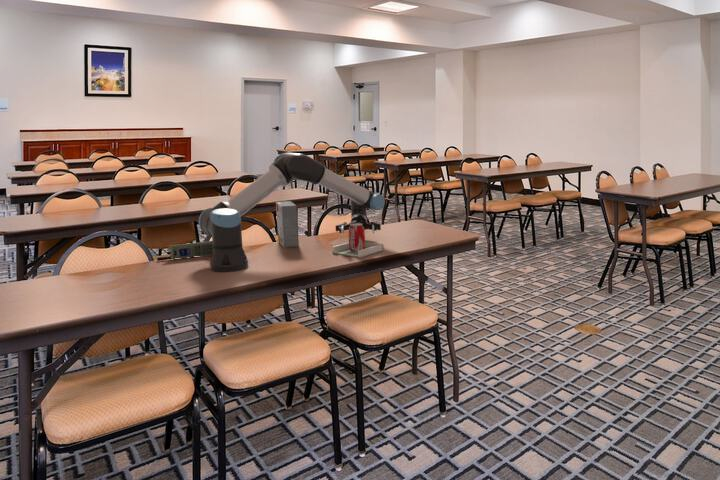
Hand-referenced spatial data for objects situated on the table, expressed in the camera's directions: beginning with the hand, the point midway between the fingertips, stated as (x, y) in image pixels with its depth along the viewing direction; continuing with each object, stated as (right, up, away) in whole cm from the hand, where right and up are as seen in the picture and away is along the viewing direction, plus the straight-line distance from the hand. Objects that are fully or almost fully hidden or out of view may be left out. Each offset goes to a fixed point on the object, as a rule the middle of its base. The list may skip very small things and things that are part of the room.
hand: (357, 230), depth 247 cm
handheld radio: (-75, -12, +4) cm, 77 cm away
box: (0, -9, +4) cm, 10 cm away
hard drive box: (-33, -6, +26) cm, 43 cm away
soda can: (0, -9, +4) cm, 10 cm away
